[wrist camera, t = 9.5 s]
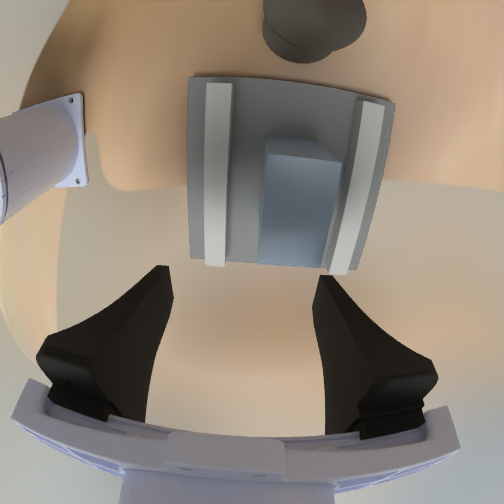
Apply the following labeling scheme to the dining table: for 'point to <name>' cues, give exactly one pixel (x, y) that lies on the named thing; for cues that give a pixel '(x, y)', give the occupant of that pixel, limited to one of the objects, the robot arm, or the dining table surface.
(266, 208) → the blue-grey block
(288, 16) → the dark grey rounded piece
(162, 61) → the dining table surface
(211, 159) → the grey railed square plate
